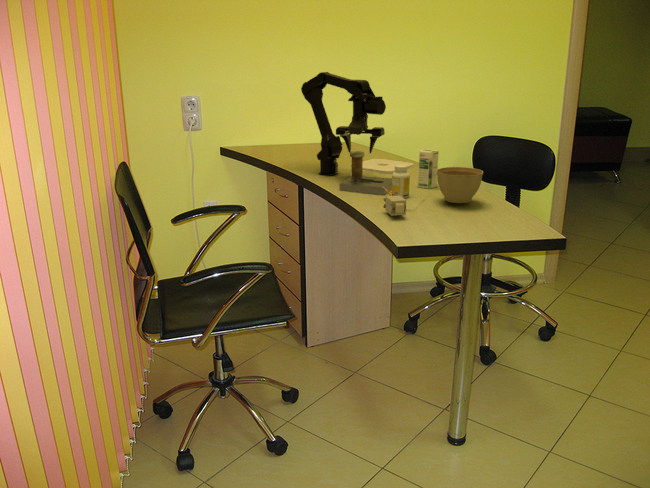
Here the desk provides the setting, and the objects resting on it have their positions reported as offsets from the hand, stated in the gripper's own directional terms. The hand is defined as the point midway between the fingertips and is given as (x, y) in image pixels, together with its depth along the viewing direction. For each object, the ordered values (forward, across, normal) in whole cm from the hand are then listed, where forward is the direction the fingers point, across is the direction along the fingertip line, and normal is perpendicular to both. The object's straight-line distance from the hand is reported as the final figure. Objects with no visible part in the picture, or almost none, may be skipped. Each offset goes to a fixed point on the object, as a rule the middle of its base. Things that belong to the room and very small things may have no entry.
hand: (360, 152), depth 245 cm
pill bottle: (+13, +21, -17) cm, 30 cm away
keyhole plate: (+12, +6, -9) cm, 16 cm away
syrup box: (+13, +27, +2) cm, 30 cm away
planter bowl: (+13, +42, -16) cm, 47 cm away
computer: (+13, +2, +28) cm, 31 cm away
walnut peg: (+12, -3, +4) cm, 13 cm away
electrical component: (+13, +20, -32) cm, 40 cm away
